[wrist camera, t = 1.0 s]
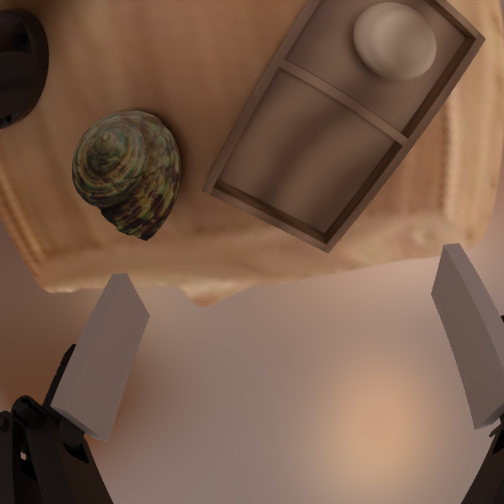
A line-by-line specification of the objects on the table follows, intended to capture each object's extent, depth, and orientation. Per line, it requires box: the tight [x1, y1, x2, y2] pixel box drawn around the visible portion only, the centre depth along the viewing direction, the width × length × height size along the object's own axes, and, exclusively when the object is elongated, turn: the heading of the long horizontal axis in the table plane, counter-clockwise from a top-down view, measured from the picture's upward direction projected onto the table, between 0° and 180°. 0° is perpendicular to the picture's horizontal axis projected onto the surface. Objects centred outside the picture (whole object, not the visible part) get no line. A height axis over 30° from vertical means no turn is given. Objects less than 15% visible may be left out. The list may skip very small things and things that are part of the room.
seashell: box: [72, 110, 182, 241], centre depth 26 cm, size 11×11×10 cm
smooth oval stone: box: [353, 2, 436, 81], centre depth 18 cm, size 7×7×7 cm
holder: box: [202, 0, 485, 253], centre depth 24 cm, size 14×27×3 cm, turn 152°
